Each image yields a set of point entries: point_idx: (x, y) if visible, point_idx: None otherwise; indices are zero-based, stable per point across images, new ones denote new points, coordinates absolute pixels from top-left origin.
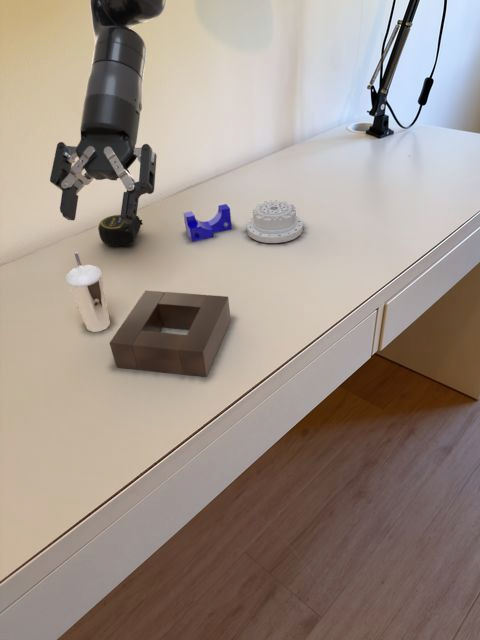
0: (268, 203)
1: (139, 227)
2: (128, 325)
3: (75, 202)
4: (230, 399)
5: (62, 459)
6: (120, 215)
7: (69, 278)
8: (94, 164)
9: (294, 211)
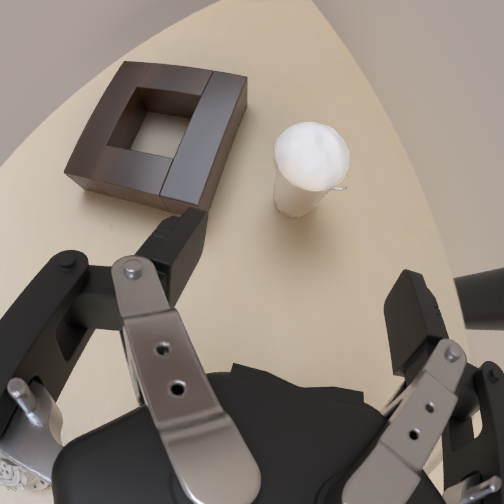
0: (6, 479)
1: None
2: (222, 107)
3: (396, 342)
4: (119, 61)
5: (279, 17)
6: None
7: (336, 132)
8: (338, 435)
9: None
